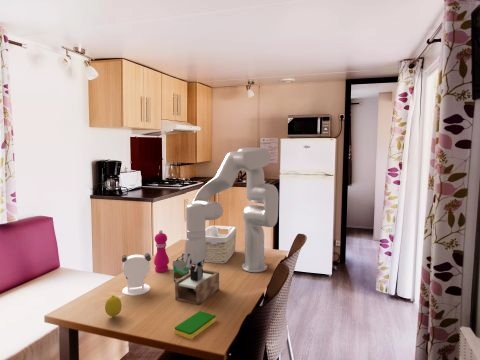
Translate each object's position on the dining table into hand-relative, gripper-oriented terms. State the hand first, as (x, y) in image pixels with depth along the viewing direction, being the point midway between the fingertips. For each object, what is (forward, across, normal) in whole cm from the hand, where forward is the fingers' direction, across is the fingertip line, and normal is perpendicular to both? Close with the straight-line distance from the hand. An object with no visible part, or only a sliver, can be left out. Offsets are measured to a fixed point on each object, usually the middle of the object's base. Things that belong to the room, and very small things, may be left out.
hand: (196, 278), depth 142 cm
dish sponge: (+8, +21, +13) cm, 26 cm away
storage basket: (+8, -47, -16) cm, 50 cm away
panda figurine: (+8, +6, -26) cm, 28 cm away
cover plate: (+1, 0, 0) cm, 1 cm away
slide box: (+7, -1, 0) cm, 7 cm away
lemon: (+7, +28, -17) cm, 34 cm away
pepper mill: (+7, -17, -31) cm, 36 cm away
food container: (+8, -13, -15) cm, 21 cm away
